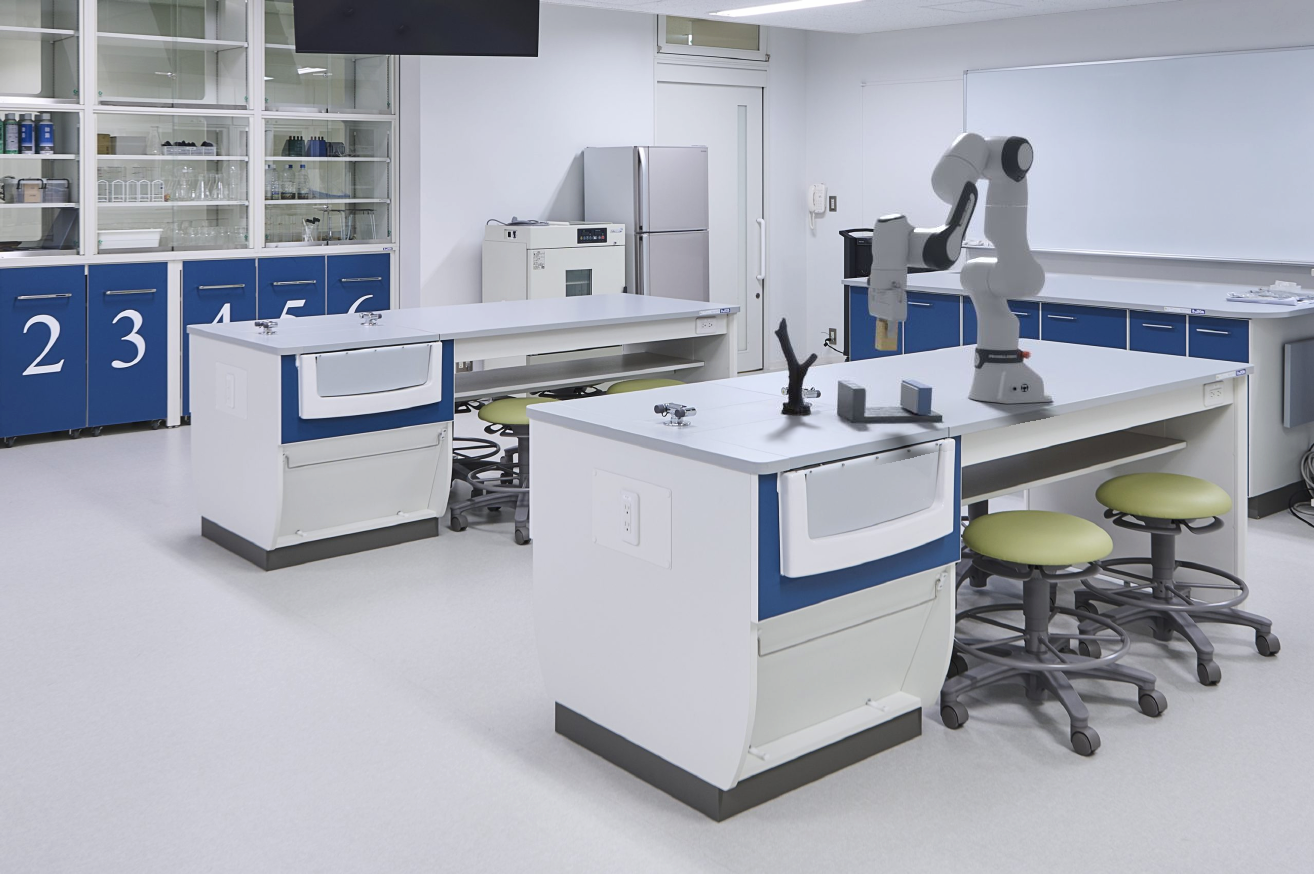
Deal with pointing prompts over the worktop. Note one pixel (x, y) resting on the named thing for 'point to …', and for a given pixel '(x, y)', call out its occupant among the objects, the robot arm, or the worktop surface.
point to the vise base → (873, 408)
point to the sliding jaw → (916, 397)
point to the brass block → (884, 336)
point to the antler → (794, 374)
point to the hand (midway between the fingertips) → (886, 336)
